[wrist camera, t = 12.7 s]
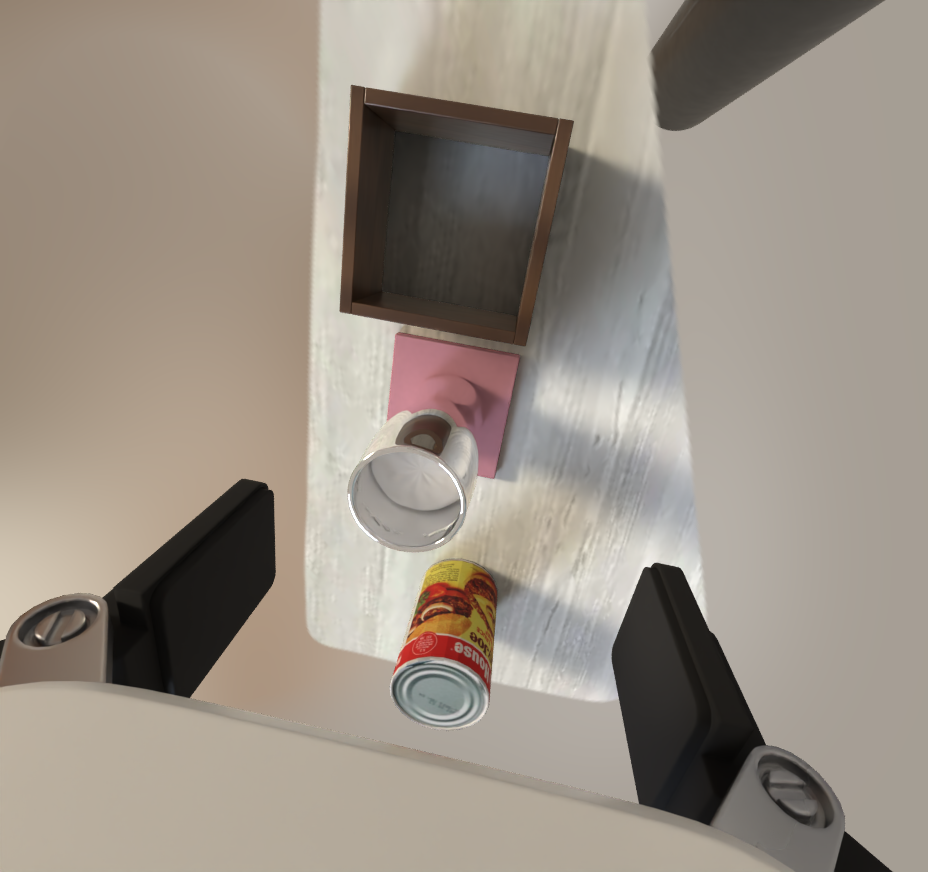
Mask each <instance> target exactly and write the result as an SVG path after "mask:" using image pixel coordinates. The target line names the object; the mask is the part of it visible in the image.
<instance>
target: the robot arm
mask: <svg viewBox="0 0 928 872" xmlns="http://www.w3.org/2000/svg"><path fill="white" fill-rule="evenodd" d="M274 528H275V526H274V494H273V491H272V490H268V486H267V484H265V483H262V482H258V481H253V480H248V479H241V480H239V481H238V482H237V483H236V484H235V485H233V486H232V487H231V488H230V489H229V490H228V491H226V492H225V493H224V494H223V495H222V496H220V497H219V498H218V499H217V500H216V501H215V502H213V503H212V504H211V505H210V506H209V507H208V508H206V509H205V510H204V511H203V512H202V513H201V514H199V515H198V516H197V517H196V518H195V519H193V520H192V521H191V522H190V523H189V524H188V525H186V526H185V527H184V528H183V529H182V530H181V531H179V532H178V533H177V534H176V535H175V536H173V537H172V538H171V539H170V540H169V541H168V542H166V543H165V544H164V545H163V546H162V547H160V548H159V549H158V550H157V551H156V552H155V553H154V554H152V555H151V556H150V557H149V558H148V559H146V560H145V561H144V562H143V563H142V564H140V565H139V566H138V567H137V568H136V569H135V570H133V571H132V572H131V573H130V574H129V575H128V576H126V577H125V578H124V579H123V580H122V581H120V582H119V583H118V584H117V585H116V586H115V587H114V588H113V589H112V590H111V591H110V592H109V593H108V594H106V595H105V596H104V597H103V598H101V597H100V596H96V595H93V594H86V593H76V594H69V595H63V596H60V597H57V598H54V599H50V600H47V601H45V602H43V603H41V604H39V605H37V606H35V607H33V608H31V609H30V610H29V611H27V612H26V613H24V614H23V615H21V616H20V617H19V618H18V619H17V620H16V621H15V622H14V623H13V624H12V626H11V627H10V629H9V631H8V633H7V636H6V639H5V640H1V641H0V872H892V871H891V870H890V869H889V868H887V867H886V866H885V865H884V864H883V863H882V862H880V861H879V860H878V859H877V858H876V857H875V856H873V855H872V854H871V853H870V852H869V851H867V850H866V849H865V848H864V847H863V846H862V845H861V844H859V843H858V842H857V841H856V840H855V839H854V838H852V837H851V836H850V835H849V834H848V833H846V832H845V831H844V830H845V815H844V812H843V810H842V807H841V804H840V802H839V800H838V799H837V797H836V795H835V793H834V792H833V790H832V788H831V787H830V786H829V785H828V783H827V782H826V781H825V780H824V779H823V778H822V777H821V775H820V774H819V773H818V772H817V771H815V770H814V769H813V768H812V767H811V766H810V765H809V764H807V763H806V762H805V761H804V760H802V759H800V758H799V757H797V756H795V755H794V754H792V753H791V752H788V751H786V750H784V749H781V748H779V747H774V746H768V745H766V744H765V742H764V739H763V737H762V735H761V733H760V731H759V729H758V727H757V724H756V722H755V720H754V718H753V716H752V713H751V711H750V709H749V707H748V705H747V703H746V700H745V699H744V696H743V694H742V692H741V690H740V687H739V685H738V683H737V681H736V679H735V677H734V675H733V672H732V670H731V668H730V666H729V664H728V661H727V659H726V657H725V655H724V653H723V650H722V648H721V646H720V644H719V642H718V640H717V638H716V637H715V635H714V634H713V633H711V632H710V631H709V629H708V626H707V624H706V622H705V620H704V618H703V615H702V613H701V611H700V609H699V607H698V604H697V602H696V600H695V598H694V595H693V593H692V591H691V589H690V587H689V584H688V582H687V580H686V578H685V575H684V573H683V571H682V570H681V568H679V567H675V566H670V565H665V564H660V563H654V564H653V565H652V566H651V568H649V567H645V568H644V569H643V571H642V574H641V576H640V579H639V581H638V584H637V586H636V589H635V591H634V594H633V597H632V599H631V602H630V604H629V607H628V609H627V612H626V614H625V617H624V619H623V622H622V624H621V627H620V629H619V632H618V634H617V637H616V640H615V642H614V645H613V648H612V664H613V670H614V675H615V680H616V685H617V691H618V696H619V701H620V706H621V711H622V716H623V721H624V727H625V732H626V738H627V743H628V748H629V753H630V758H631V764H632V769H633V774H634V779H635V785H636V790H637V795H638V800H639V804H636V803H633V802H629V801H625V800H621V799H617V798H613V797H610V796H606V795H602V794H598V793H594V792H590V791H586V790H583V789H578V788H574V787H570V786H566V785H562V784H558V783H554V782H549V781H545V780H541V779H537V778H532V777H529V776H524V775H520V774H516V773H512V772H508V771H504V770H499V769H495V768H491V767H487V766H483V765H479V764H474V763H470V762H465V761H462V760H458V759H453V758H449V757H445V756H441V755H436V754H432V753H427V752H423V751H419V750H415V749H410V748H406V747H402V746H398V745H394V744H389V743H385V742H381V741H376V740H372V739H368V738H364V737H359V736H354V735H351V734H346V733H342V732H337V731H333V730H329V729H325V728H320V727H316V726H312V725H307V724H303V723H298V722H294V721H290V720H285V719H281V718H276V717H272V716H268V715H263V714H259V713H254V712H250V711H245V710H241V709H237V708H232V707H228V706H224V705H219V704H215V703H210V702H205V701H200V700H196V699H191V698H190V697H191V695H192V694H193V693H194V691H195V690H196V689H197V687H198V686H199V685H200V683H201V682H202V680H203V679H204V678H205V676H206V675H207V674H208V672H209V671H210V670H211V668H212V667H213V665H214V664H215V663H216V661H217V660H218V659H219V657H220V656H221V655H222V653H223V652H224V650H225V649H226V648H227V646H228V645H229V644H230V642H231V641H232V640H233V638H234V637H235V635H236V634H237V633H238V631H239V630H240V629H241V627H242V626H243V625H244V623H245V622H246V620H247V619H248V617H249V616H250V615H251V614H252V612H253V611H254V610H255V608H256V607H257V605H258V604H259V602H260V601H261V600H262V599H263V597H264V596H265V594H266V593H267V592H268V590H269V589H270V588H271V586H272V584H273V582H274V578H275V573H276V570H275V569H276V568H275V529H274Z"/></svg>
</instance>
